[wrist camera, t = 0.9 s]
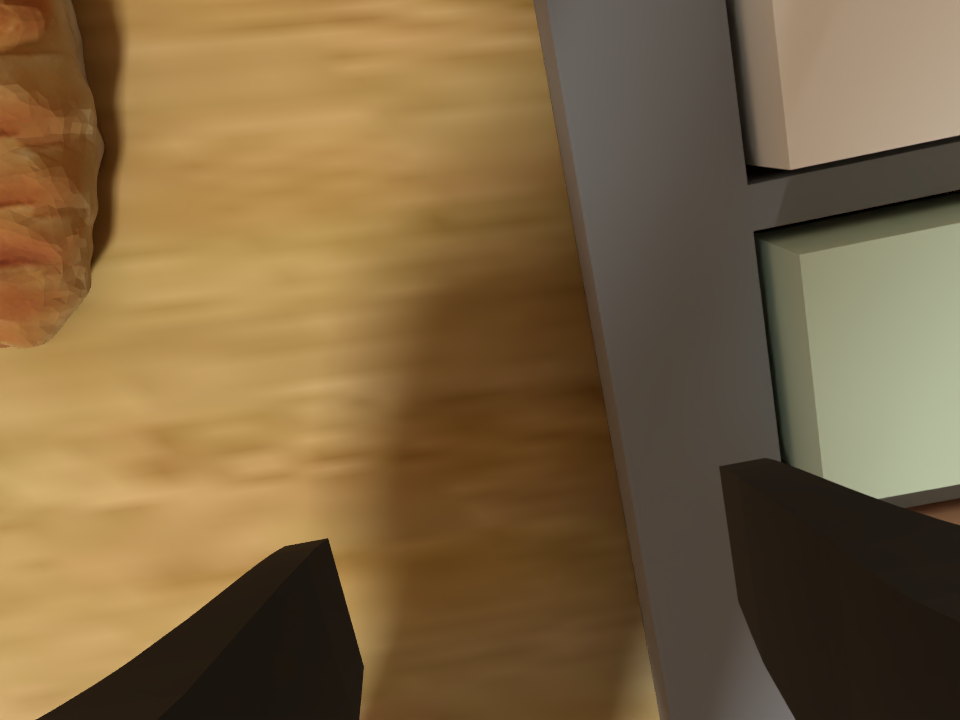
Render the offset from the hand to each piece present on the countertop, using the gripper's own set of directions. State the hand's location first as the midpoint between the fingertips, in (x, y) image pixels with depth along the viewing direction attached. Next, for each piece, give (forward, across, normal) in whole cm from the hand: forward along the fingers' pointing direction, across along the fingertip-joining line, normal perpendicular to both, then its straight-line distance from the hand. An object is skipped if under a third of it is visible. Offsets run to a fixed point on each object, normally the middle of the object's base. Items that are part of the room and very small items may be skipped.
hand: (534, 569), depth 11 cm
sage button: (+8, -8, 0) cm, 11 cm away
